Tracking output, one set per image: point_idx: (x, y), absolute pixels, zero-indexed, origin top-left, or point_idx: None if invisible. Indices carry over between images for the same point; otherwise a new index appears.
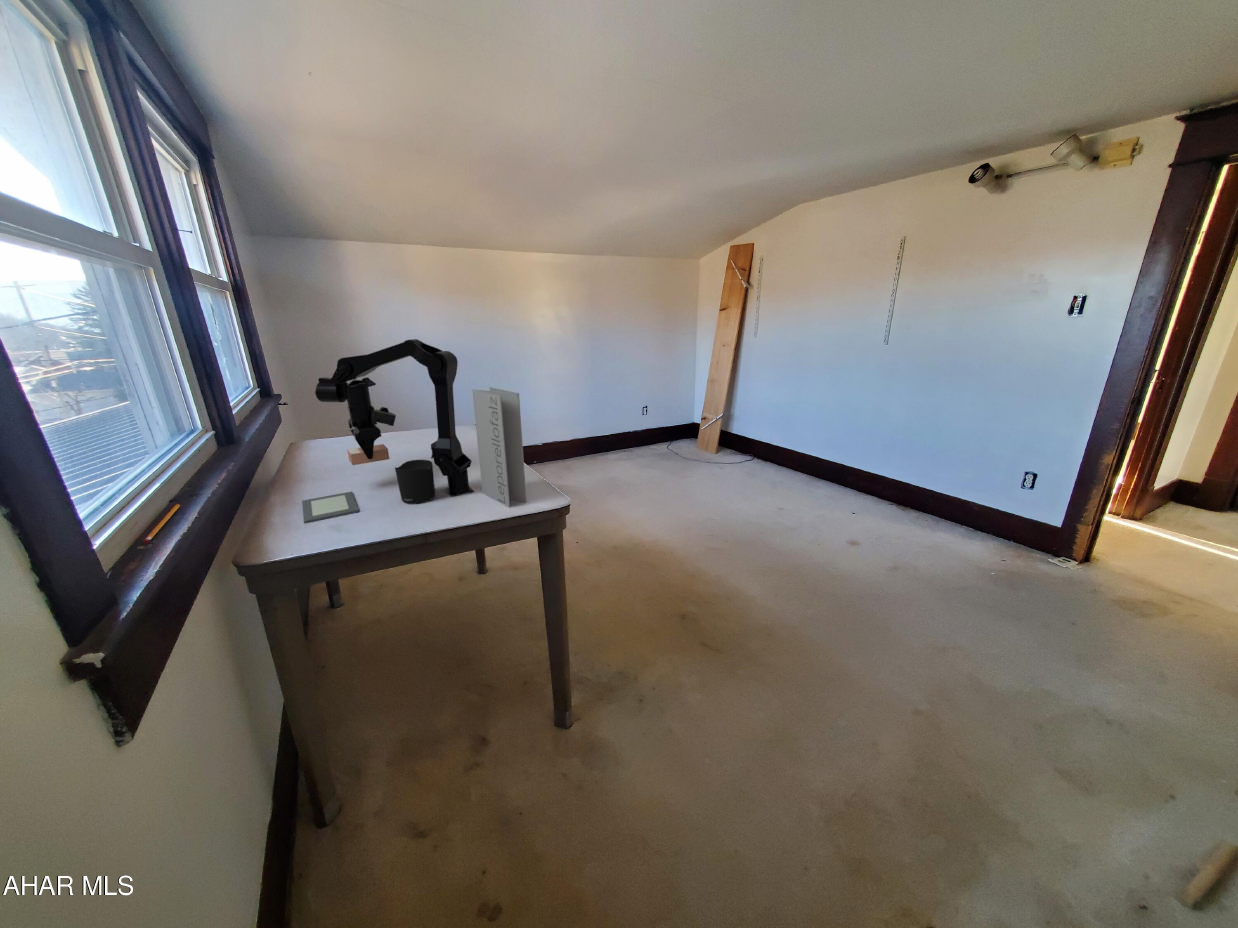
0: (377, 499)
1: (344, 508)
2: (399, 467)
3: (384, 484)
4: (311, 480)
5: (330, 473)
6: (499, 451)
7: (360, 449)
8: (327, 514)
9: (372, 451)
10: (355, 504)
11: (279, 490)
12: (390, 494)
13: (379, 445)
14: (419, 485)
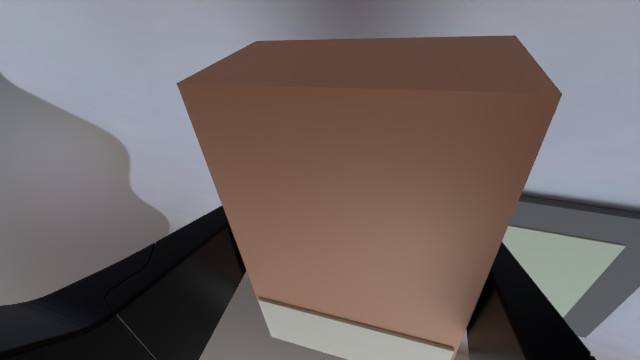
0: (589, 115)
1: (602, 254)
2: None
3: (351, 30)
4: (189, 218)
5: (135, 171)
6: None
7: (321, 304)
8: (598, 295)
9: (545, 305)
10: (591, 215)
11: (244, 276)
12: (577, 33)
13: (236, 144)
14: None
